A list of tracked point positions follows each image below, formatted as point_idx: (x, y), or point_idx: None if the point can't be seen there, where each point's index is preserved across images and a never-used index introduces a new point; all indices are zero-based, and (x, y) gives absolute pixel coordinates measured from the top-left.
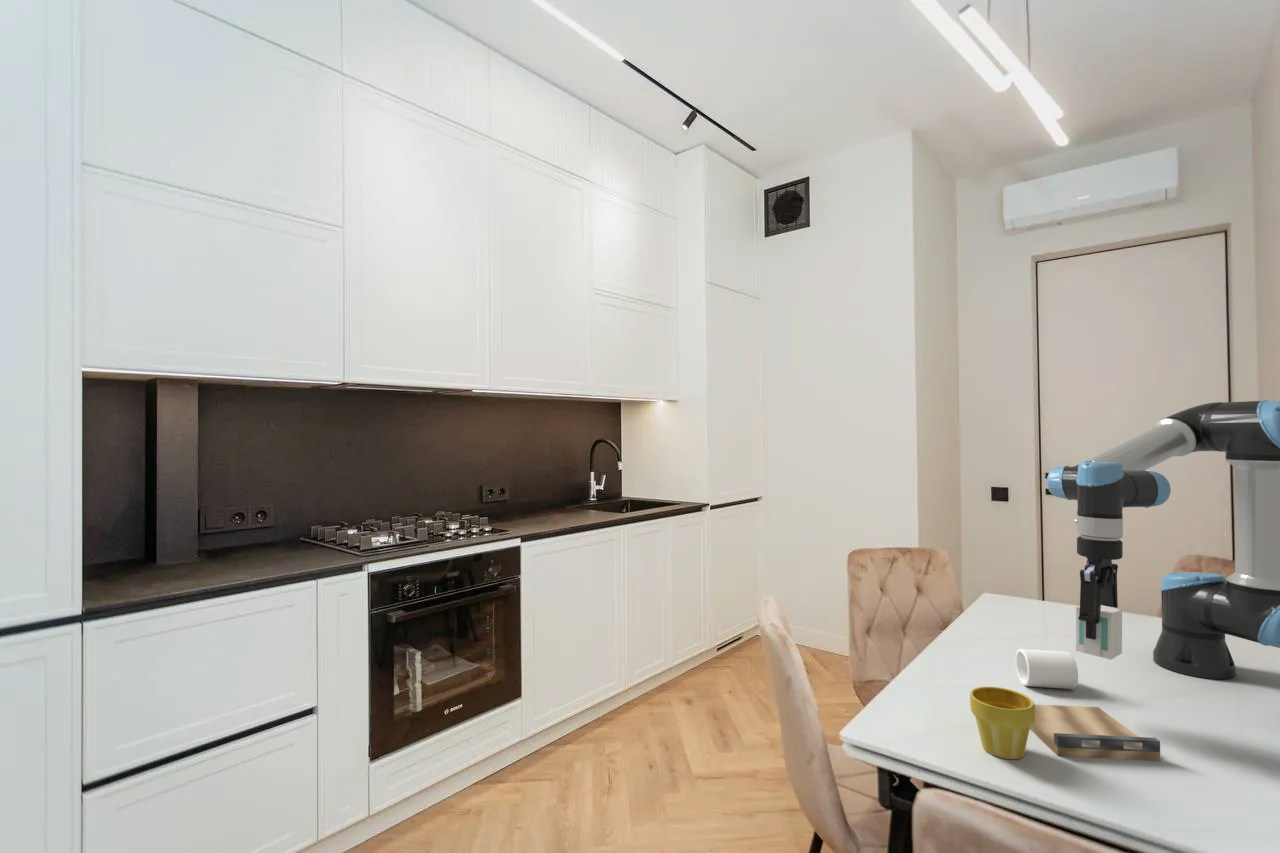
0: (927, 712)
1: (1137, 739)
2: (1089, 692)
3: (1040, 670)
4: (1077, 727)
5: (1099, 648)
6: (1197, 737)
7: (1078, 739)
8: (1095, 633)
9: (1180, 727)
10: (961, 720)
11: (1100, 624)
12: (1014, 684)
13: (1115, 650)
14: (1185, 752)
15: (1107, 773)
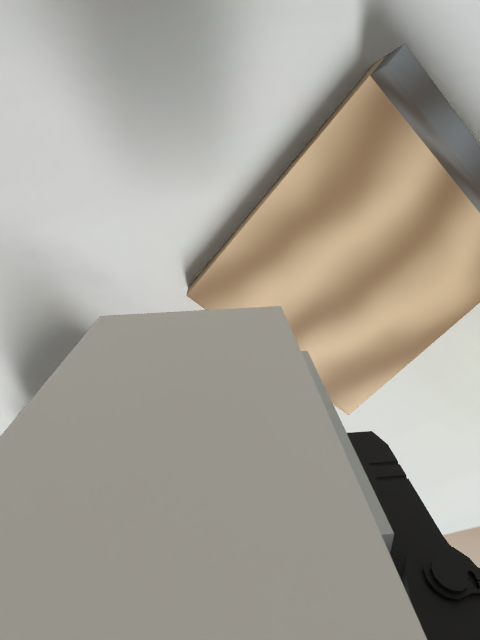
0: (473, 472)
1: (441, 103)
2: (53, 358)
3: None
4: (377, 272)
5: (317, 378)
6: (89, 36)
7: None
8: (366, 466)
9: (58, 104)
10: (467, 428)
11: None
12: None
13: (210, 326)
14: (249, 27)
15: None
